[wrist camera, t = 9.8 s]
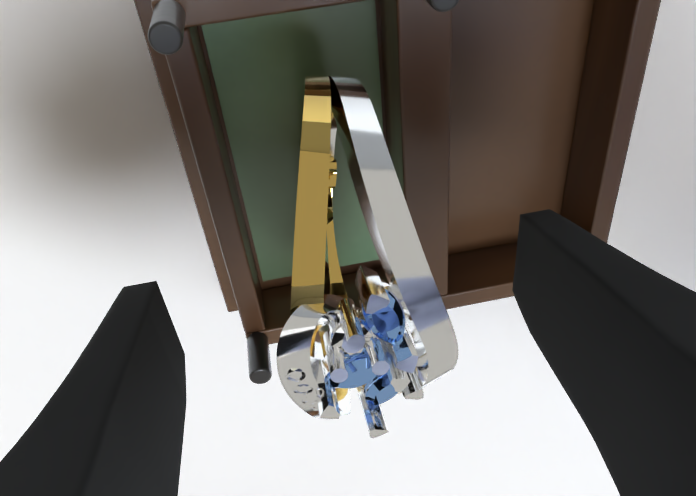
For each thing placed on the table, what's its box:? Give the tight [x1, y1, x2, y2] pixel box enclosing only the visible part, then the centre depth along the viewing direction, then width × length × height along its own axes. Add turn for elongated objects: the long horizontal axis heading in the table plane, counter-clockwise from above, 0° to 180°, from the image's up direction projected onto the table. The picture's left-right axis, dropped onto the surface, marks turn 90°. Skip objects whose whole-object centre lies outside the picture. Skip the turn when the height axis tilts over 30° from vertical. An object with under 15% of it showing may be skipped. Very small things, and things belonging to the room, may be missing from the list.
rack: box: [134, 0, 661, 384], centre depth 15 cm, size 12×10×4 cm
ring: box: [277, 75, 458, 438], centre depth 13 cm, size 7×3×8 cm, turn 176°
